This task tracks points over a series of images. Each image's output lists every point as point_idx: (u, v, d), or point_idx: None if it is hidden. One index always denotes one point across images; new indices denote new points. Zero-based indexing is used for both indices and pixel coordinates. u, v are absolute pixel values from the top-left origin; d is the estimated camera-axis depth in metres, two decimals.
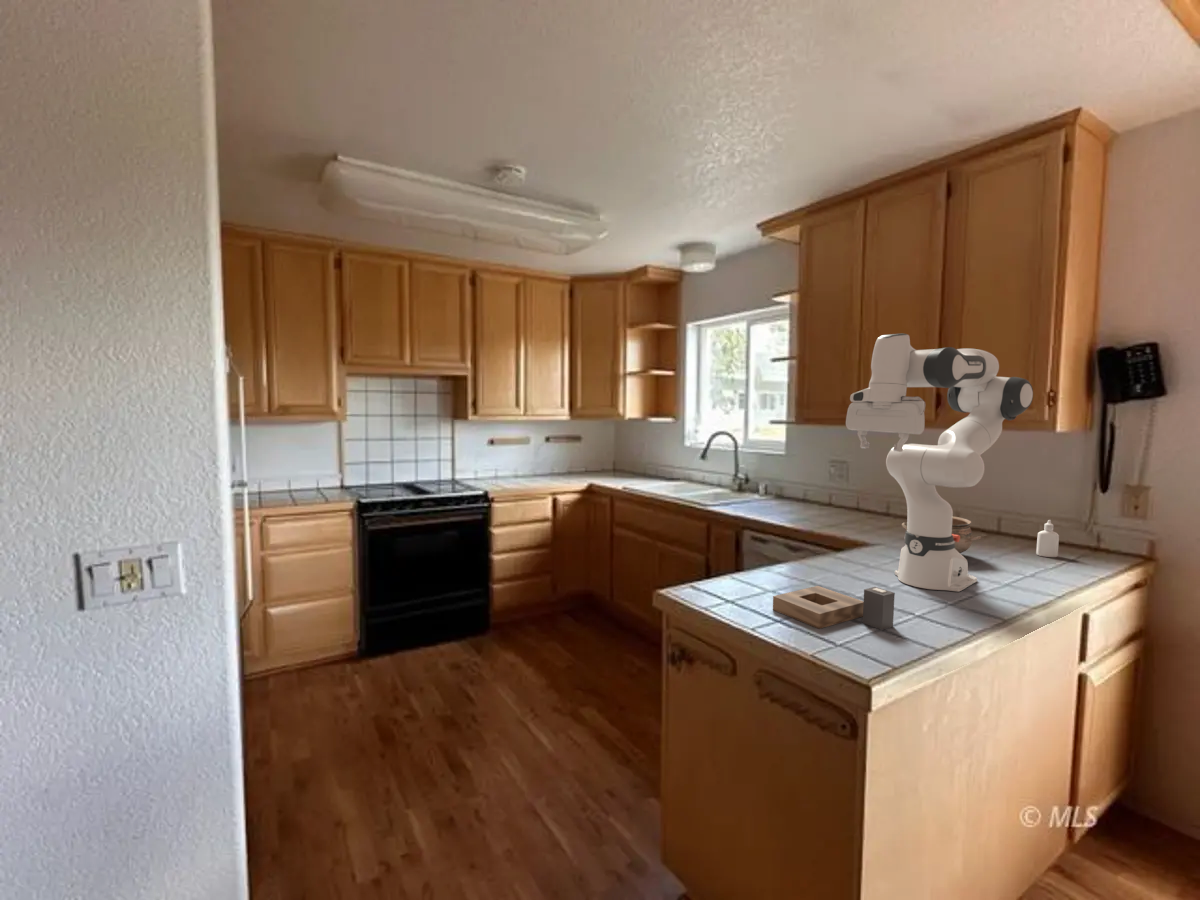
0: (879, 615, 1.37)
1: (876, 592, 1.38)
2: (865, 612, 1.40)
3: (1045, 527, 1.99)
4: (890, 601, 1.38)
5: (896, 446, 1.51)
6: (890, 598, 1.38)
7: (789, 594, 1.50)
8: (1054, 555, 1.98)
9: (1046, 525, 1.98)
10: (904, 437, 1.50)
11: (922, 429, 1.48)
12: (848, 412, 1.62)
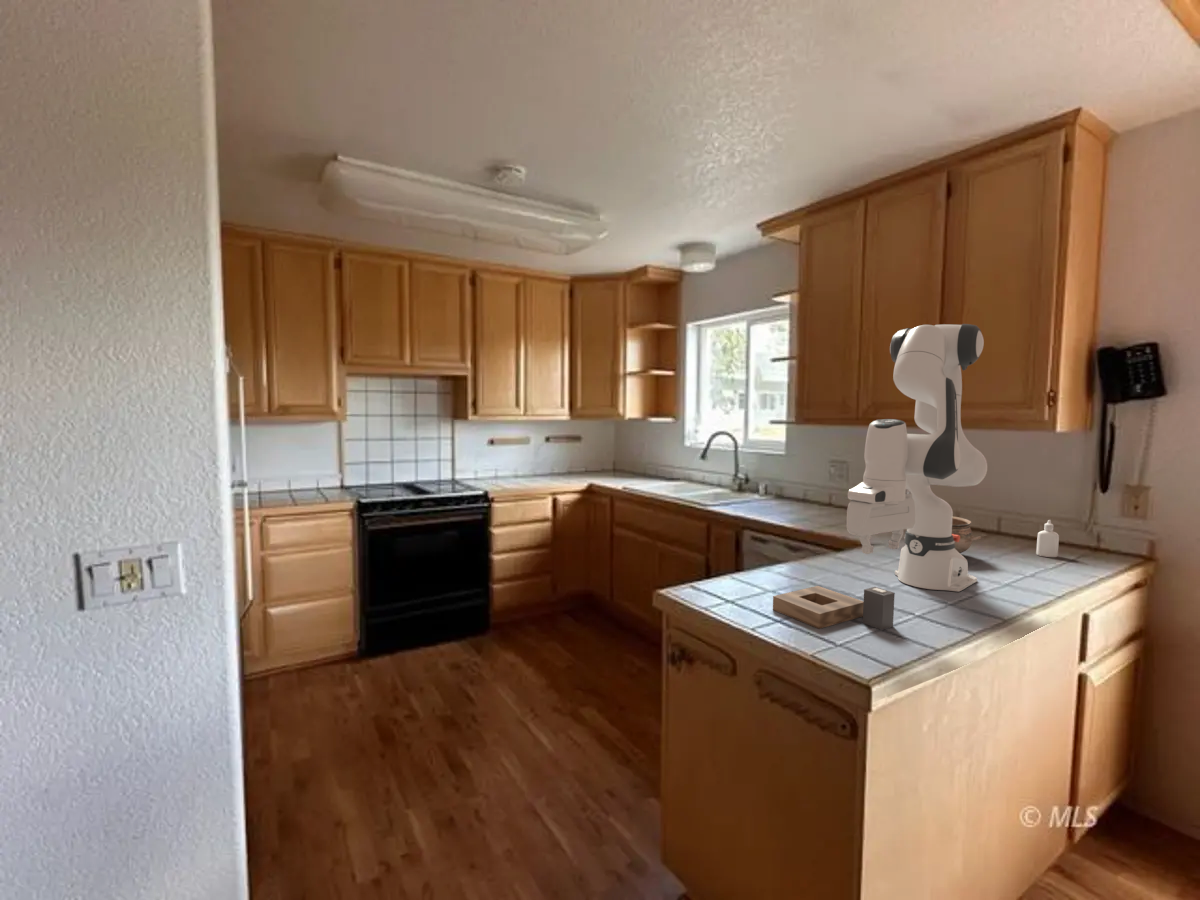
0: (879, 615, 1.37)
1: (876, 592, 1.38)
2: (865, 612, 1.40)
3: (1045, 527, 1.99)
4: (890, 601, 1.38)
5: (897, 544, 1.40)
6: (890, 598, 1.38)
7: (789, 594, 1.50)
8: (1054, 555, 1.98)
9: (1046, 525, 1.98)
10: None
11: None
12: (865, 516, 1.31)
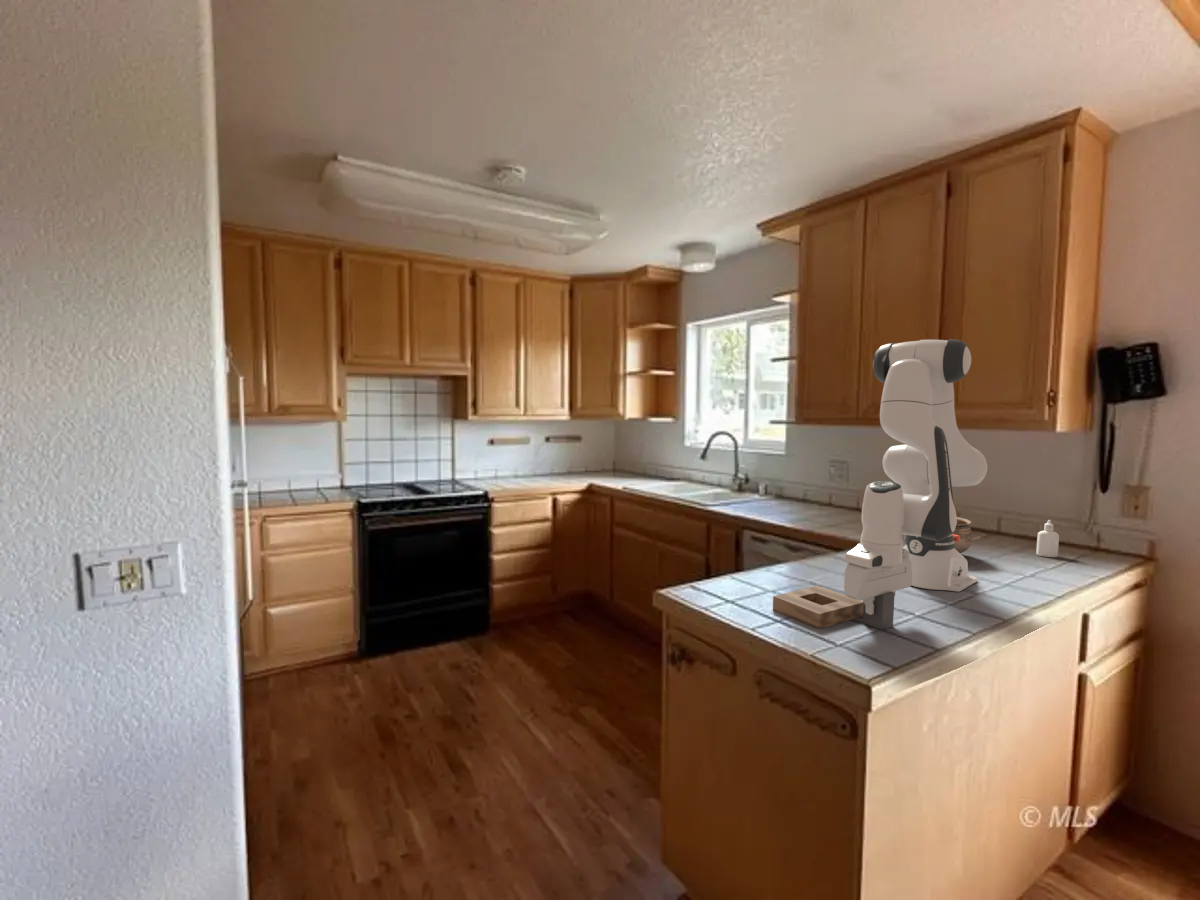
0: (879, 615, 1.37)
1: None
2: (865, 612, 1.40)
3: (1045, 527, 1.99)
4: (890, 601, 1.38)
5: None
6: (890, 598, 1.38)
7: (789, 594, 1.50)
8: (1054, 555, 1.98)
9: (1046, 525, 1.98)
10: None
11: None
12: (862, 581, 1.32)
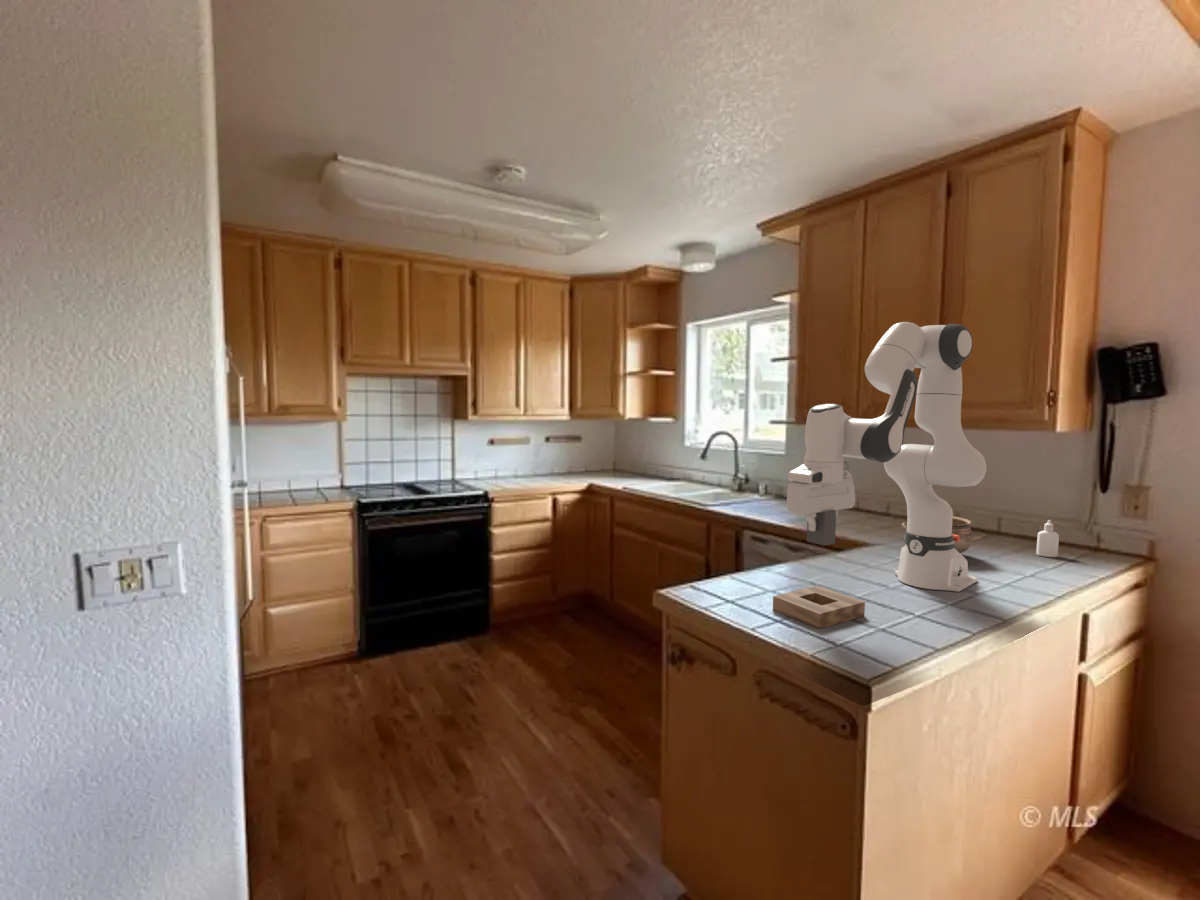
0: (821, 531, 1.43)
1: None
2: None
3: (1045, 527, 1.99)
4: (832, 518, 1.43)
5: None
6: (832, 515, 1.43)
7: (789, 594, 1.50)
8: (1054, 555, 1.98)
9: (1046, 525, 1.98)
10: None
11: None
12: (803, 496, 1.38)
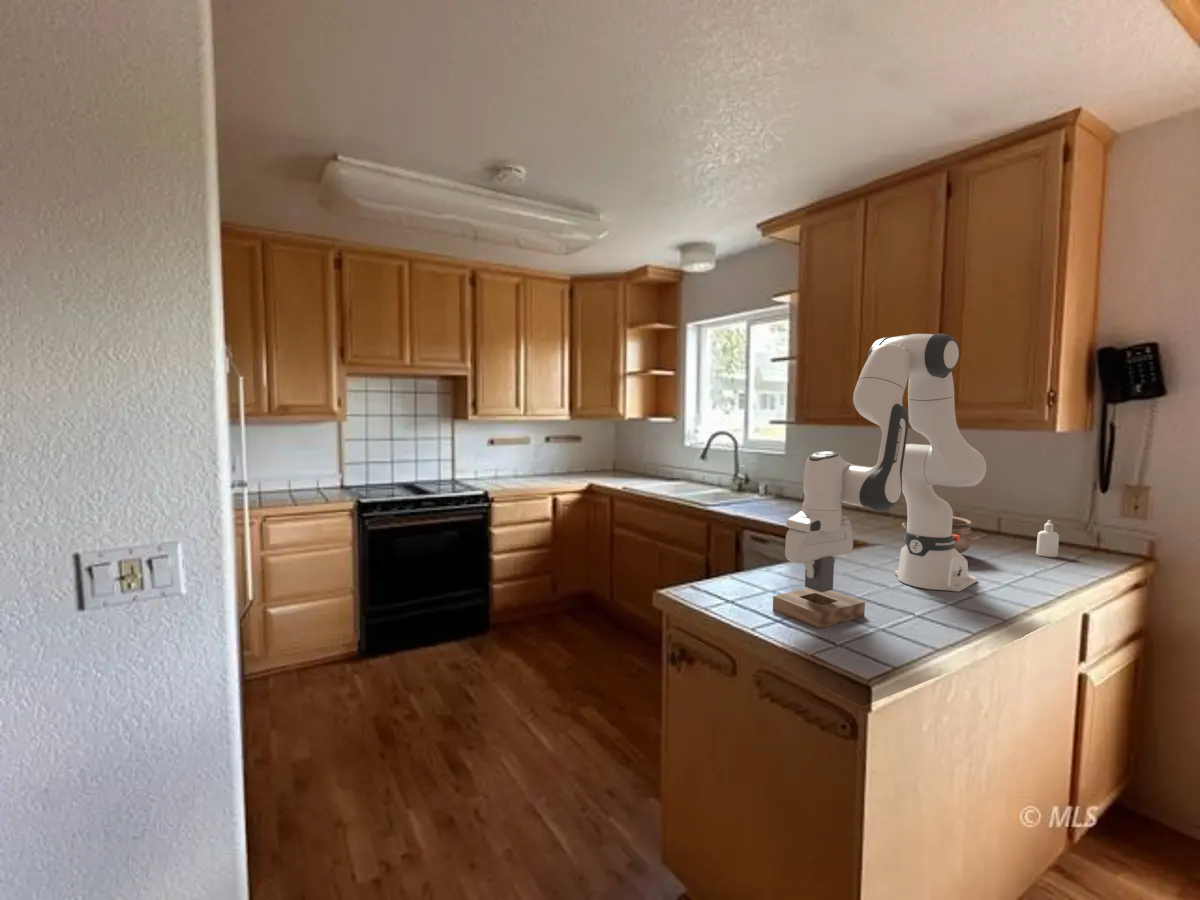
0: (819, 578, 1.44)
1: None
2: None
3: (1045, 527, 1.99)
4: (830, 565, 1.44)
5: None
6: (830, 562, 1.44)
7: (789, 594, 1.50)
8: (1054, 555, 1.98)
9: (1046, 525, 1.98)
10: None
11: None
12: (801, 544, 1.39)
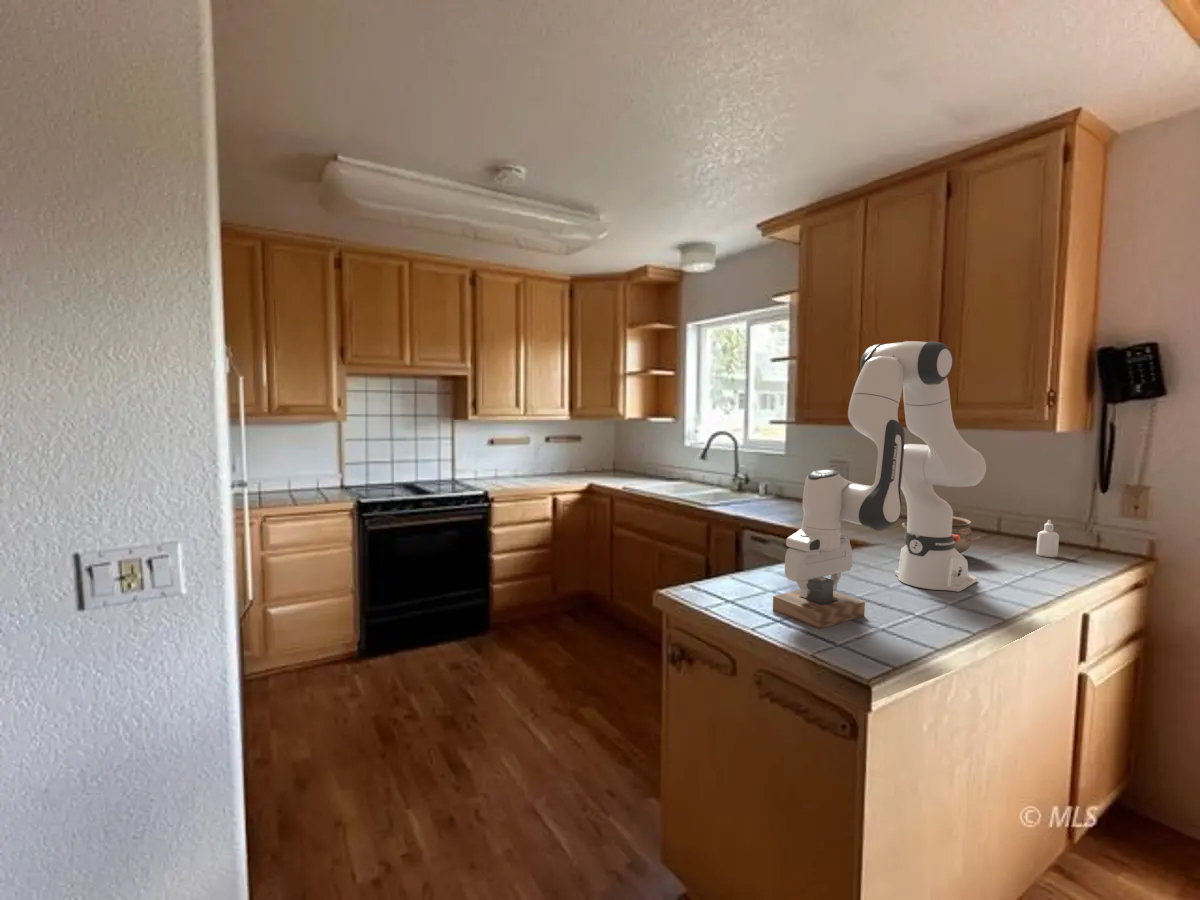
0: (819, 601, 1.45)
1: (816, 580, 1.46)
2: (806, 599, 1.48)
3: (1045, 527, 1.99)
4: (829, 588, 1.45)
5: (835, 586, 1.49)
6: (829, 585, 1.45)
7: (789, 594, 1.50)
8: (1054, 555, 1.98)
9: (1046, 525, 1.98)
10: None
11: None
12: (801, 563, 1.40)
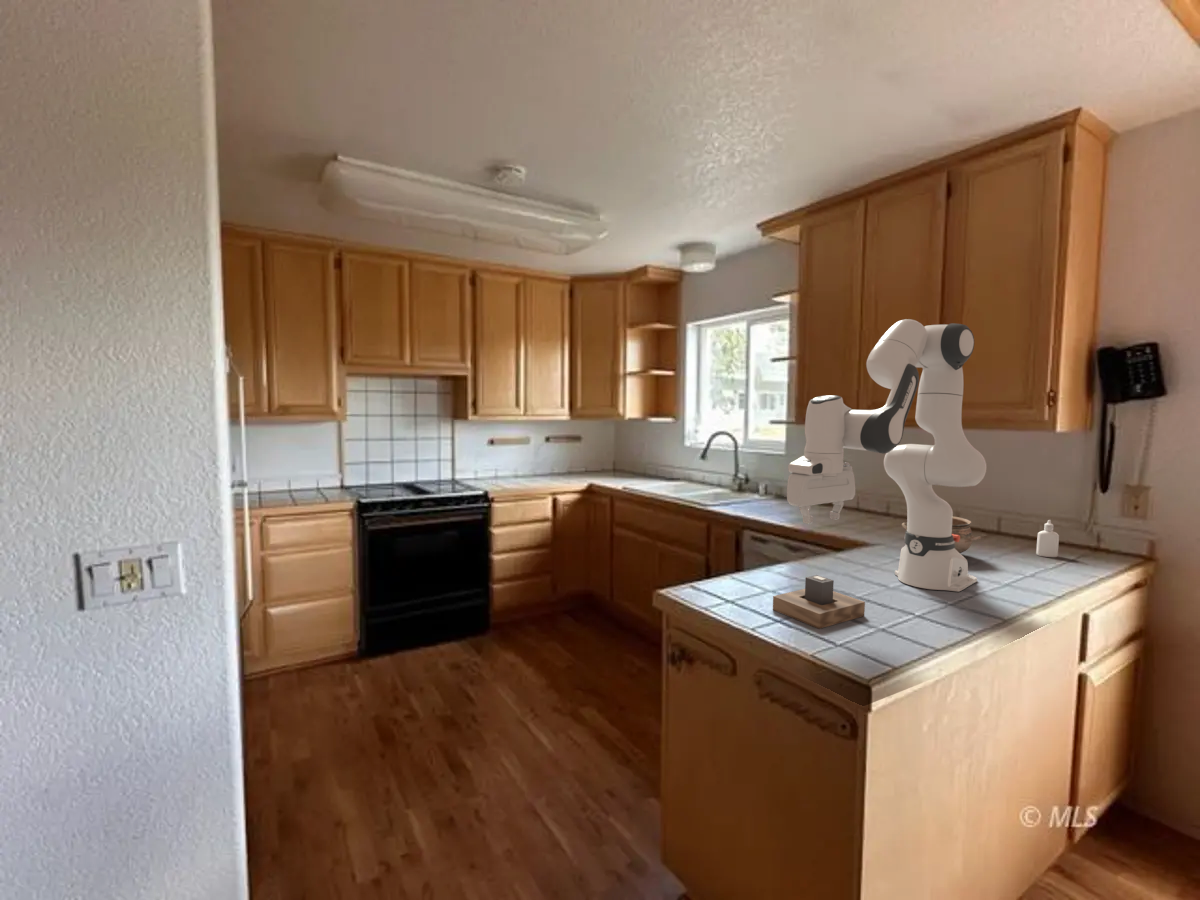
0: (819, 601, 1.45)
1: (816, 580, 1.46)
2: (806, 599, 1.48)
3: (1045, 527, 1.99)
4: (829, 588, 1.45)
5: (838, 514, 1.47)
6: (829, 585, 1.45)
7: (789, 594, 1.50)
8: (1054, 555, 1.98)
9: (1046, 525, 1.98)
10: None
11: None
12: (803, 487, 1.38)
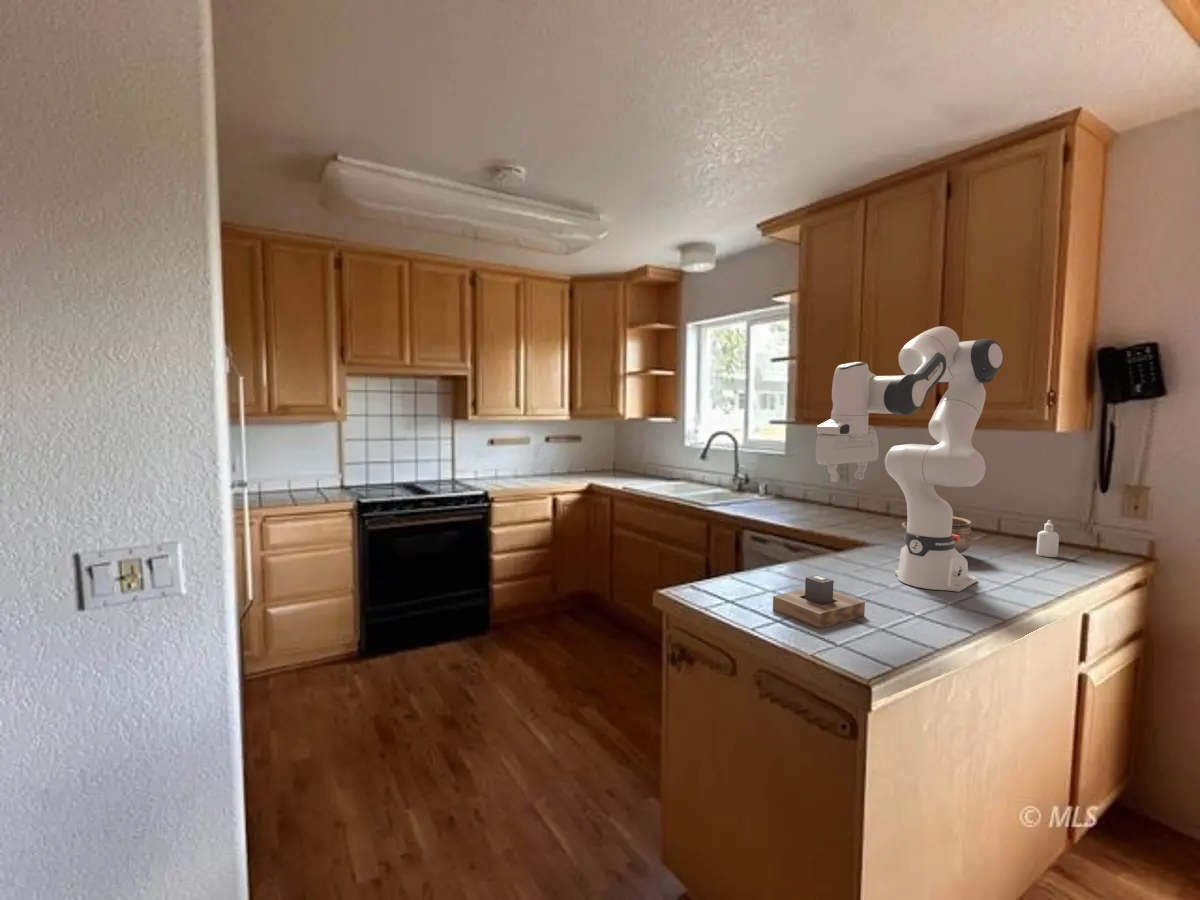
0: (819, 601, 1.45)
1: (816, 580, 1.46)
2: (806, 599, 1.48)
3: (1045, 527, 1.99)
4: (829, 588, 1.45)
5: (862, 474, 1.56)
6: (829, 585, 1.45)
7: (789, 594, 1.50)
8: (1054, 555, 1.98)
9: (1046, 525, 1.98)
10: None
11: None
12: (831, 446, 1.48)
